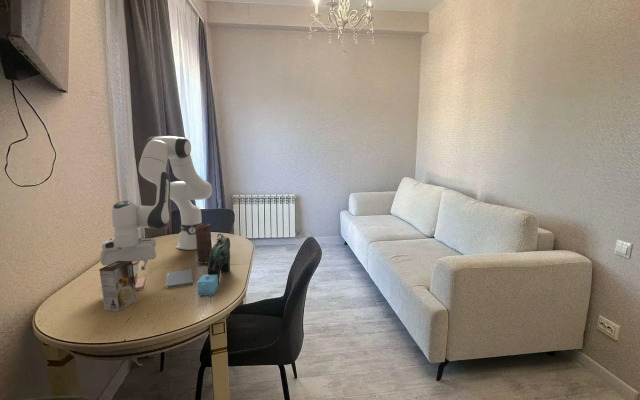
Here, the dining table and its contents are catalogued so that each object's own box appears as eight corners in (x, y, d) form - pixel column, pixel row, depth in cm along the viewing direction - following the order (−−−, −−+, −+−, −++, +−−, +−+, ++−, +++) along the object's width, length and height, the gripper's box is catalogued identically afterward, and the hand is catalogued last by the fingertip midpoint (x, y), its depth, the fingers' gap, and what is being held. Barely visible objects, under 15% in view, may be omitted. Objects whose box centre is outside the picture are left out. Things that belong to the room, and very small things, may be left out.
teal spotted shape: (222, 269, 160) (219, 229, 156) (235, 269, 159) (233, 229, 156) (205, 286, 140) (202, 241, 137) (220, 287, 140) (217, 241, 136)
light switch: (125, 283, 144) (123, 271, 143) (145, 280, 147) (144, 269, 146) (121, 292, 135) (119, 280, 134) (143, 289, 138) (141, 277, 137)
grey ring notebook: (167, 275, 153) (167, 272, 153) (192, 271, 157) (192, 269, 157) (165, 288, 138) (165, 286, 138) (192, 284, 142) (192, 282, 142)
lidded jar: (131, 271, 157) (128, 252, 156) (146, 275, 153) (144, 256, 151) (108, 280, 148) (105, 260, 146) (123, 284, 143) (121, 263, 142)
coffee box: (123, 298, 130) (118, 259, 127) (137, 300, 128) (133, 260, 126) (104, 310, 121) (98, 268, 118) (119, 311, 120) (114, 269, 117)
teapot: (211, 300, 128) (210, 282, 126) (195, 301, 127) (194, 283, 126) (219, 287, 139) (218, 270, 138) (204, 288, 139) (203, 271, 138)
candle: (208, 266, 164) (205, 226, 161) (194, 265, 165) (191, 226, 162) (215, 260, 171) (213, 223, 168) (202, 259, 173) (200, 222, 169)
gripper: (155, 235, 144) (158, 265, 147) (100, 241, 137) (105, 272, 139) (154, 239, 138) (157, 270, 141) (97, 245, 131) (101, 278, 134)
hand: (131, 271), depth 140 cm, fingers open, 8 cm apart
